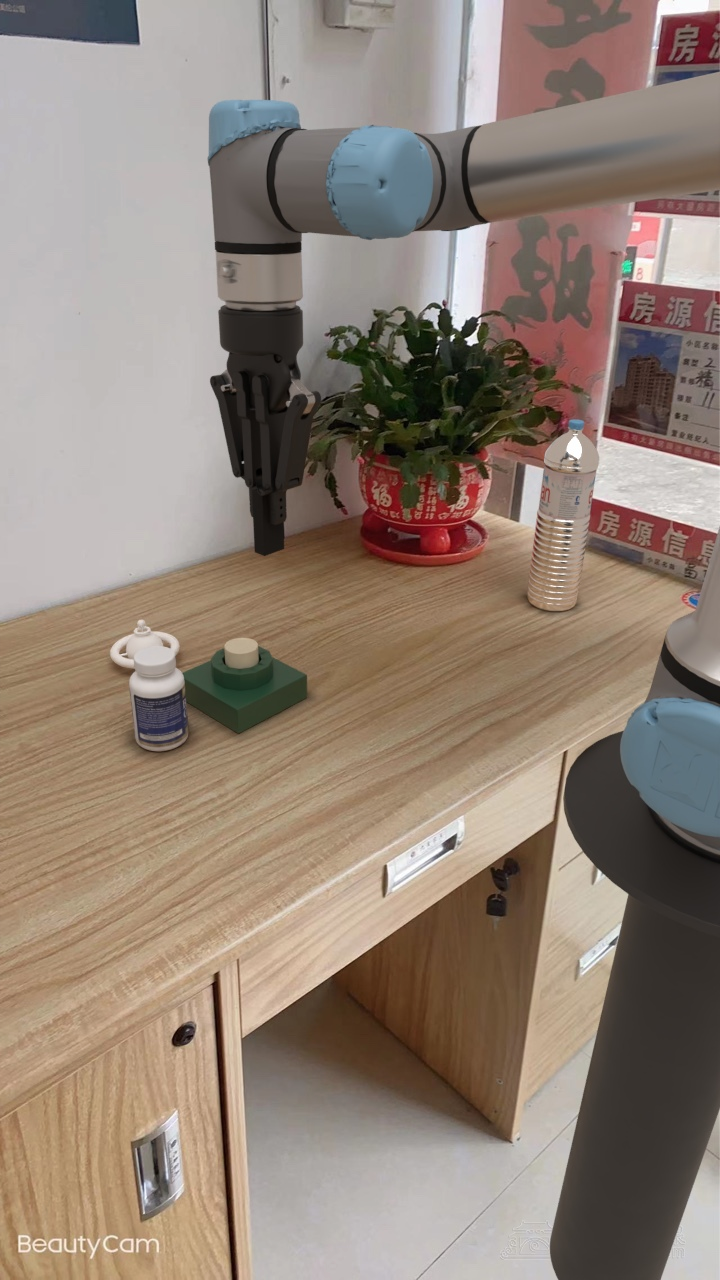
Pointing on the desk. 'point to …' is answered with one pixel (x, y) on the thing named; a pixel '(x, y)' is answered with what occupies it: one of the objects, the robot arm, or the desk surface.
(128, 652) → the ring around a ball
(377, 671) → the desk surface
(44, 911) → the desk surface
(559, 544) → the water bottle
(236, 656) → the cream cylindrical peg
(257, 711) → the green square peg base
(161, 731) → the pill bottle
